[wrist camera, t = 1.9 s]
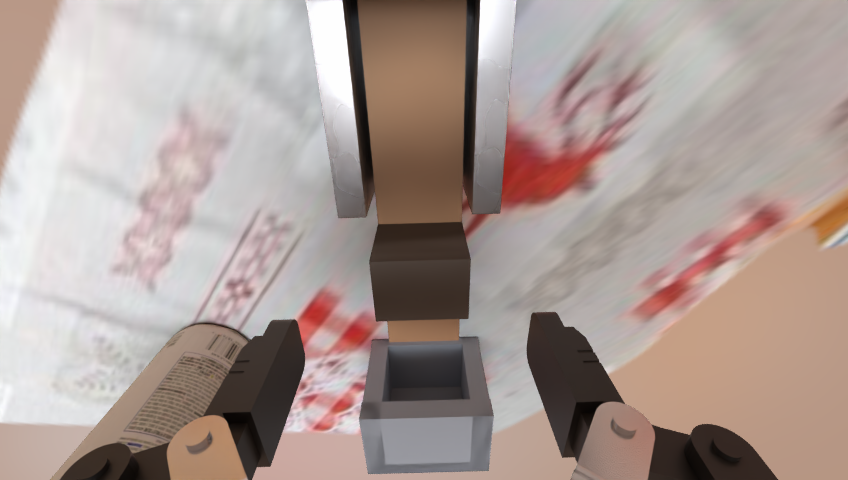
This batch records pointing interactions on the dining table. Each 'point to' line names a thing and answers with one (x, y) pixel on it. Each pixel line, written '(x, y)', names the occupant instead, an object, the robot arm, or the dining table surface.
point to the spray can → (167, 392)
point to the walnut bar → (417, 164)
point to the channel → (349, 115)
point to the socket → (426, 408)
